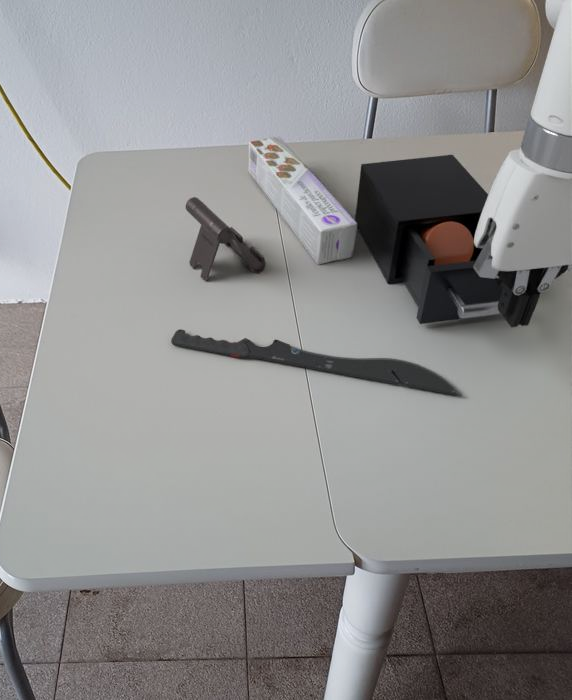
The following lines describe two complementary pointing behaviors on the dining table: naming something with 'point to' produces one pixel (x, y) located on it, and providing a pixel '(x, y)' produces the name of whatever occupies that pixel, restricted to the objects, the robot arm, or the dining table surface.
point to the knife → (324, 362)
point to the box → (302, 201)
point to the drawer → (445, 280)
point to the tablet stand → (218, 240)
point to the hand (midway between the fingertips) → (512, 317)
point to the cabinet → (411, 202)
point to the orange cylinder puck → (448, 242)
